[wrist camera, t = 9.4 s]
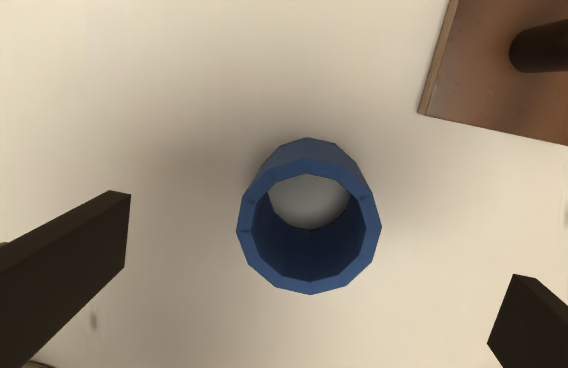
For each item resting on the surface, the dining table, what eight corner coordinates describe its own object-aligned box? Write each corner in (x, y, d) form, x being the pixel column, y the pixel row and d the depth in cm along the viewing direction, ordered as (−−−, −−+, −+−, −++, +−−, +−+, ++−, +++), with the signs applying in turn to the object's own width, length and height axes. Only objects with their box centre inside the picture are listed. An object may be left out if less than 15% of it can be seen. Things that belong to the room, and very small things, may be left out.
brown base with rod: (417, 113, 27) (483, 131, 16) (463, -47, 24) (577, -145, 14) (561, 144, 27) (720, 182, 16) (623, -14, 24) (860, -88, 14)
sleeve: (249, 226, 30) (227, 277, 22) (268, 128, 28) (251, 146, 20) (347, 248, 30) (359, 306, 22) (373, 151, 28) (396, 177, 20)
